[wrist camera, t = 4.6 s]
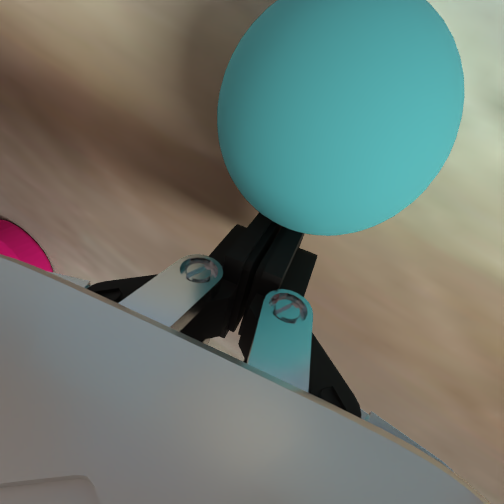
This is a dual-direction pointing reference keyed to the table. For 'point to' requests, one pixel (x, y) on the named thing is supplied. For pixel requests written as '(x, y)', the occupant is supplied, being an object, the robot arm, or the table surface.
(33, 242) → the pepper mill
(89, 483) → the robot arm
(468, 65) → the table surface
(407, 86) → the ball
